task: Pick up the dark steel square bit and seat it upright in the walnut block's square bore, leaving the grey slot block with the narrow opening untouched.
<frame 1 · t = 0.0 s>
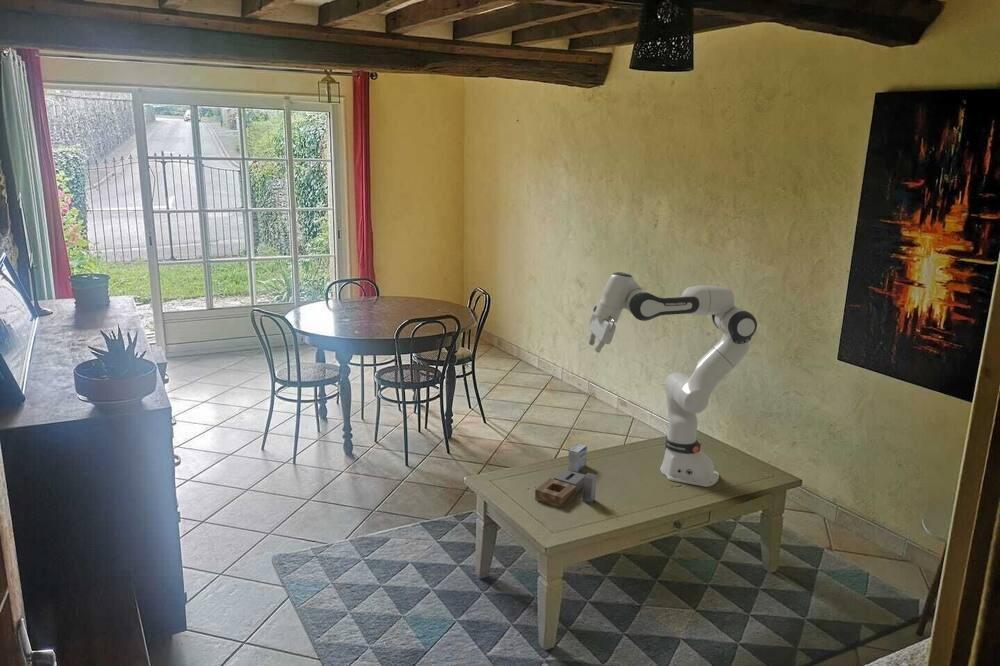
hand: (593, 348, 266), 52 cm above the table, tool tilted 20°, fingers open, 8 cm apart
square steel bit: (588, 500, 260), on the table
grey slot block: (569, 486, 270), on the table
walnut bore block: (555, 497, 261), on the table
medicine box: (577, 468, 286), on the table
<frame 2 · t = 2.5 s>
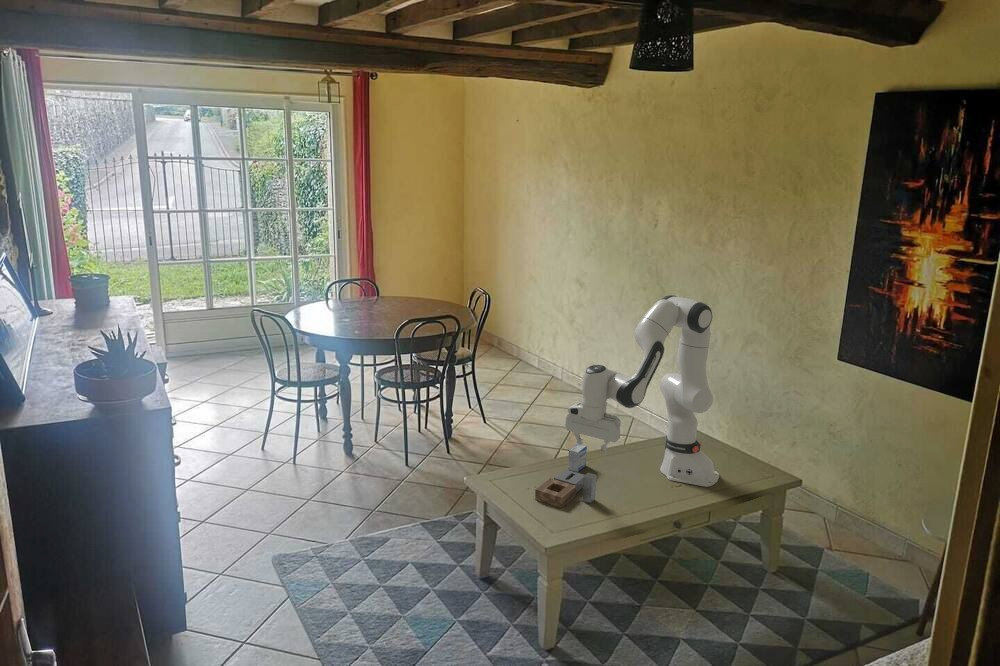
hand: (591, 447, 254), 21 cm above the table, tool pointing down, fingers open, 8 cm apart
nothing on the table moved.
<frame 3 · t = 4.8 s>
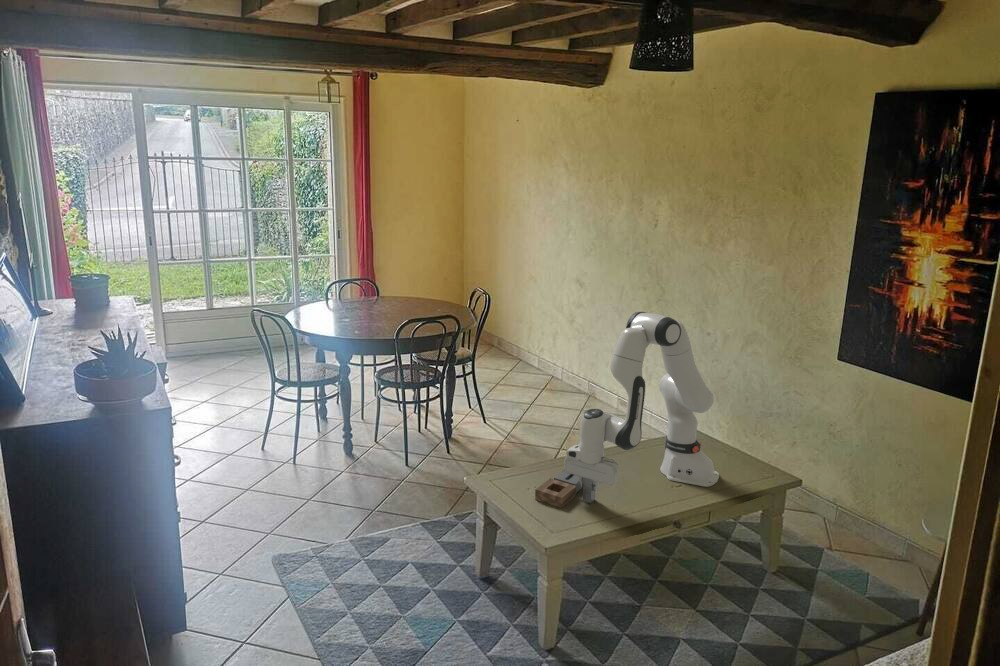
hand: (589, 488, 258), 5 cm above the table, tool pointing down, fingers closed on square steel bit, 3 cm apart
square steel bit: (588, 500, 260), on the table, touching gripper
everything else where it was.
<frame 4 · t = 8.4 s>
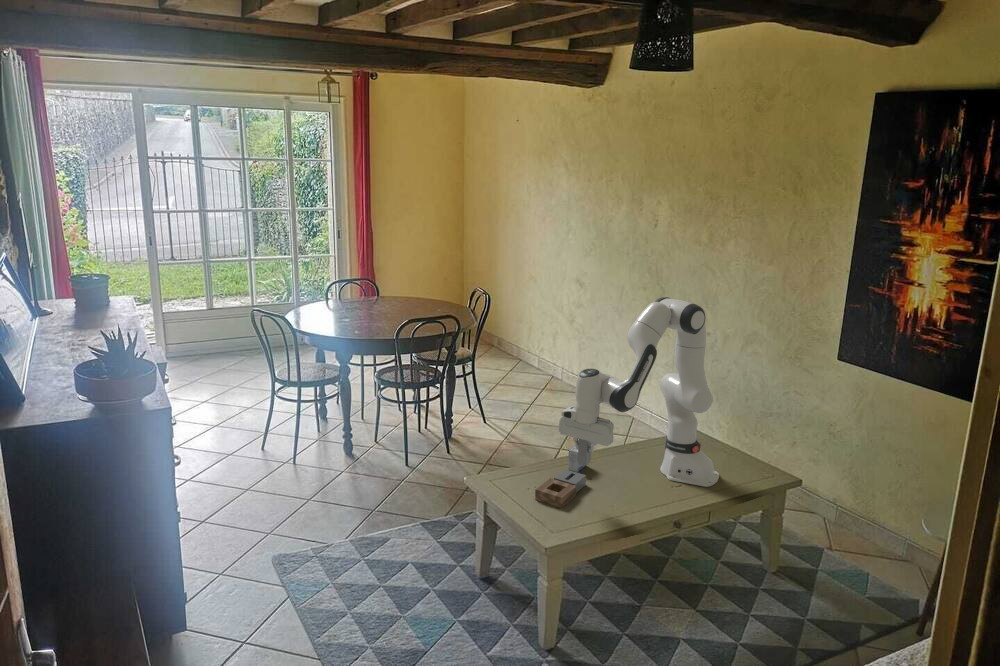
hand: (584, 450, 255), 20 cm above the table, tool pointing down, fingers closed on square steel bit, 3 cm apart
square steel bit: (583, 462, 256), point 15 cm above the table, touching gripper
everything else where it was.
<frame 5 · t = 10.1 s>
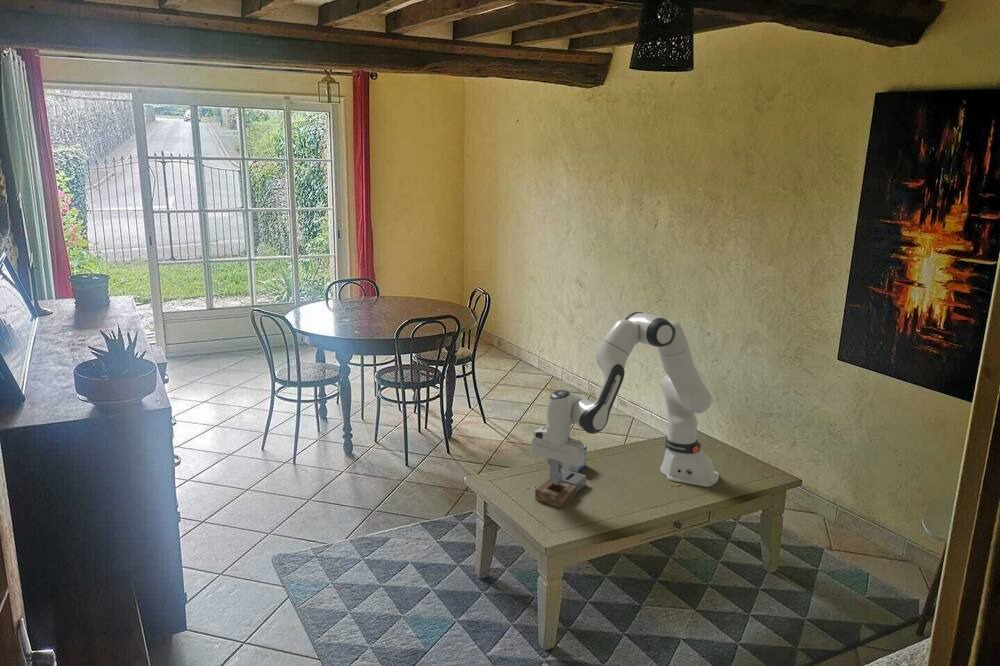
hand: (556, 470, 259), 11 cm above the table, tool pointing down, fingers closed on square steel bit, 3 cm apart
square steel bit: (555, 482, 260), point 6 cm above the table, touching gripper
everything else where it was.
when the fingers open (7 cm above the table, at t = 11.7 s): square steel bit drops 1 cm, resting on walnut bore block.
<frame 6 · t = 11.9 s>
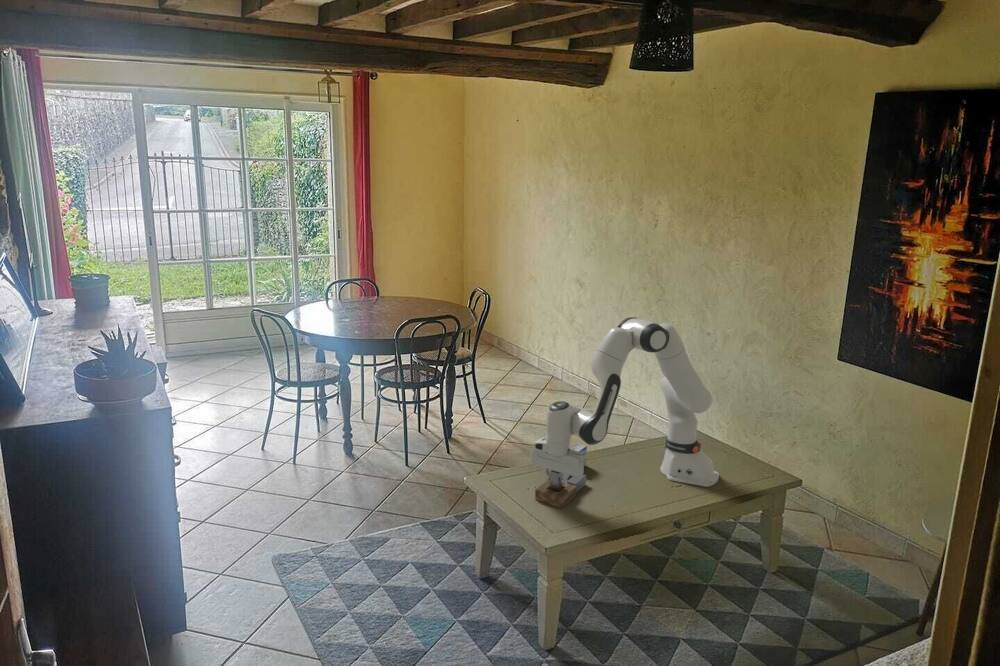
hand: (556, 481, 260), 7 cm above the table, tool pointing down, fingers open, 5 cm apart
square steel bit: (555, 495, 261), point 1 cm above the table, touching walnut bore block
everything else where it was.
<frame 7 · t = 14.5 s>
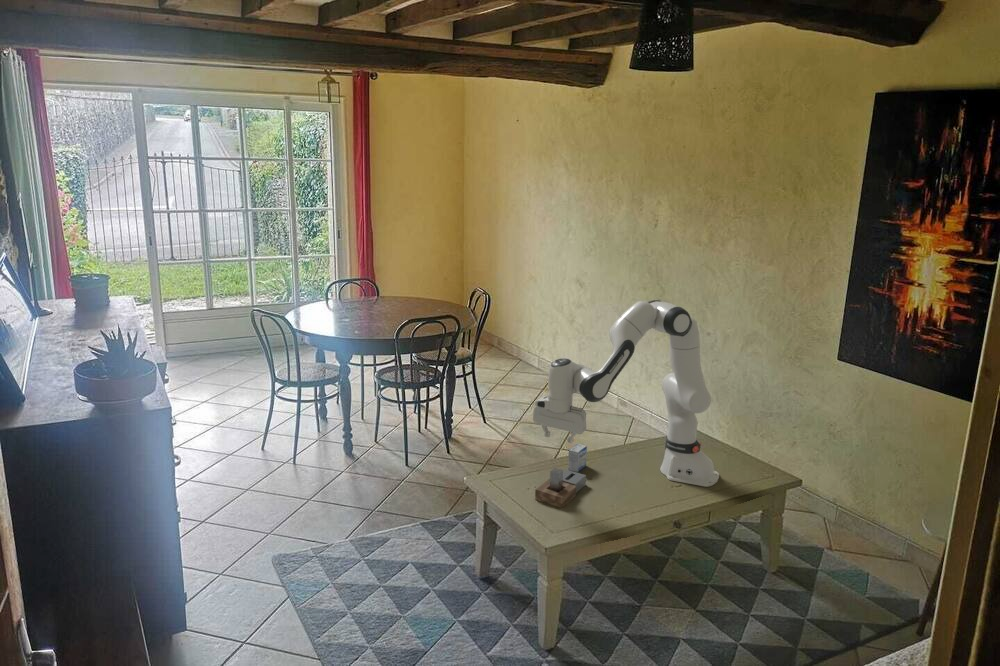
hand: (558, 439, 259), 22 cm above the table, tool pointing down, fingers open, 8 cm apart
nothing on the table moved.
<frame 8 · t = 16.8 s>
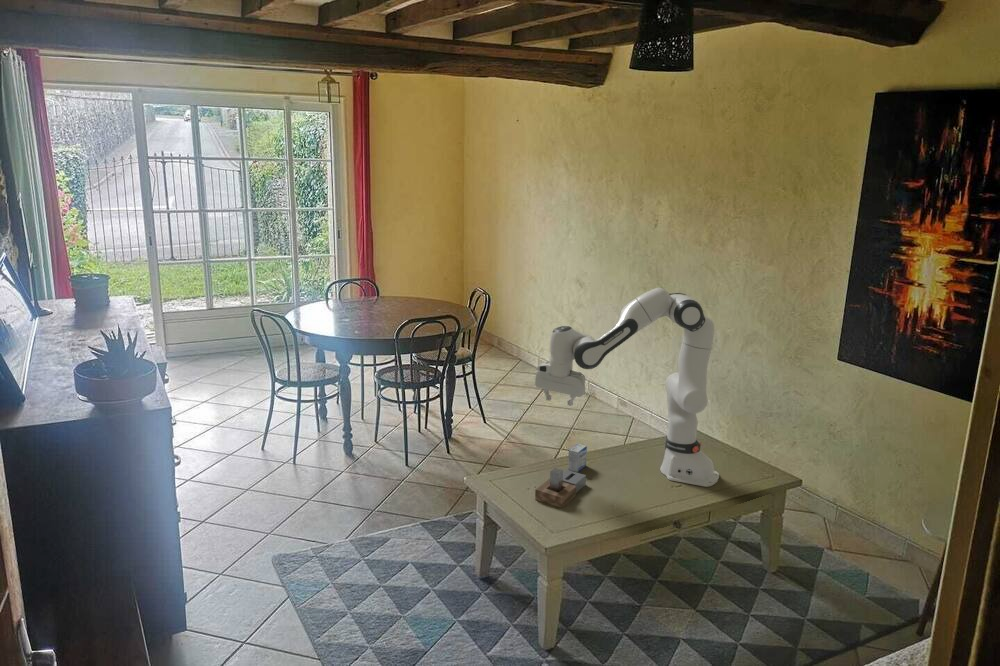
hand: (559, 402, 274), 29 cm above the table, tool pointing down, fingers open, 8 cm apart
nothing on the table moved.
at the end: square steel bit 0.0 cm off-centre on the walnut bore block, point 0.8 cm above the walnut bore block's base; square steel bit tilted 0°; the gripper is holding nothing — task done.
